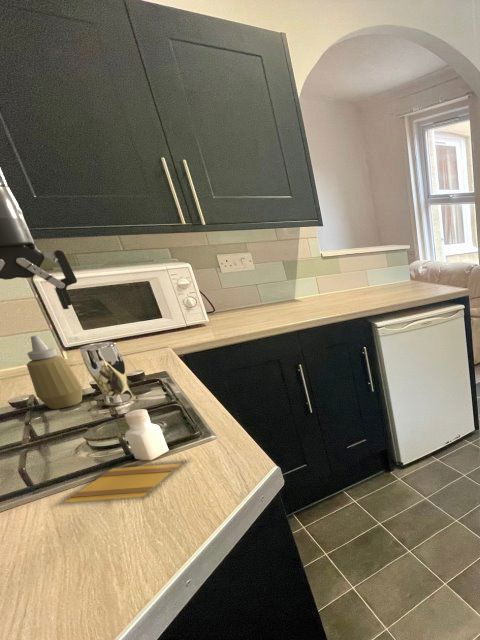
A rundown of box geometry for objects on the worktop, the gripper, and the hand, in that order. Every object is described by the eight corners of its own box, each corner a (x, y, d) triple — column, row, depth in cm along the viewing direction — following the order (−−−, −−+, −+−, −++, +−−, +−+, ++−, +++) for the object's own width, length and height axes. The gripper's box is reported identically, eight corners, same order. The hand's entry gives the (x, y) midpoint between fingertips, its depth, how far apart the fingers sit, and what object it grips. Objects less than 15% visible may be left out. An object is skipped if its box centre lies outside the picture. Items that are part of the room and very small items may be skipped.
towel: (65, 505, 68) (63, 502, 67) (113, 471, 77) (112, 467, 77) (143, 499, 69) (142, 496, 68) (182, 466, 78) (181, 462, 78)
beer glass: (107, 409, 103) (82, 351, 97) (98, 403, 106) (73, 347, 101) (142, 399, 108) (120, 343, 103) (132, 394, 112) (110, 340, 106)
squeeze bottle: (54, 413, 101) (20, 342, 95) (36, 409, 104) (1, 339, 98) (95, 400, 108) (65, 333, 102) (77, 396, 111) (47, 330, 104)
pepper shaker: (151, 463, 79) (133, 418, 76) (134, 461, 80) (115, 416, 76) (171, 452, 83) (154, 408, 79) (154, 450, 83) (137, 407, 80)
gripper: (48, 216, 77) (83, 304, 83) (-79, 216, 67) (-29, 317, 73) (53, 215, 72) (89, 308, 78) (-83, 216, 62) (-29, 323, 68)
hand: (32, 312), depth 76 cm, fingers open, 8 cm apart
